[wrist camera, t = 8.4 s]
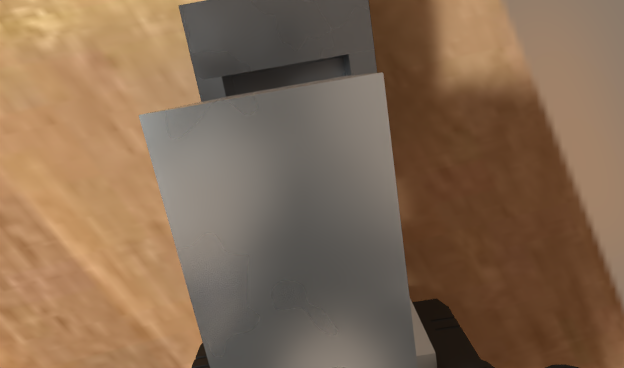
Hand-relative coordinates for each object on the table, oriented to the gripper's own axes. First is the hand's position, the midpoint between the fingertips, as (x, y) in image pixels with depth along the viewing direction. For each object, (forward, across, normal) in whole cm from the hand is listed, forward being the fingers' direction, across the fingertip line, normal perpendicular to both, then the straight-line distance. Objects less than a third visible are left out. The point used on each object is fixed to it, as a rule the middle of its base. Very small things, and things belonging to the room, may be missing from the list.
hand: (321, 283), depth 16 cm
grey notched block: (+3, 0, 0) cm, 3 cm away
